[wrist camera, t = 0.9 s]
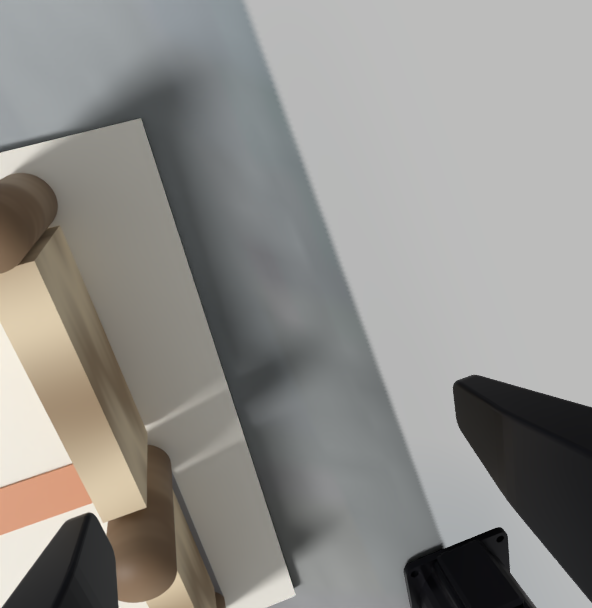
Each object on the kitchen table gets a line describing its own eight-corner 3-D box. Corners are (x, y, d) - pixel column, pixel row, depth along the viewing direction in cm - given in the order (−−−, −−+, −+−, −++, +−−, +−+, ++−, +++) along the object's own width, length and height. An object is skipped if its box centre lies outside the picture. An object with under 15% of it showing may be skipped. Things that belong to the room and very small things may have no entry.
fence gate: (178, 479, 23) (185, 586, 18) (124, 498, 23) (117, 612, 18) (49, 164, 17) (7, 191, 12) (-25, 183, 17) (-100, 219, 12)
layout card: (293, 589, 28) (296, 597, 28) (-70, 733, 26) (-73, 745, 25) (141, 117, 18) (140, 118, 18) (-493, 273, 15) (-513, 278, 15)
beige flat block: (229, 609, 27) (245, 715, 22) (192, 624, 27) (200, 735, 22) (176, 481, 23) (182, 576, 19) (132, 497, 23) (127, 597, 18)
